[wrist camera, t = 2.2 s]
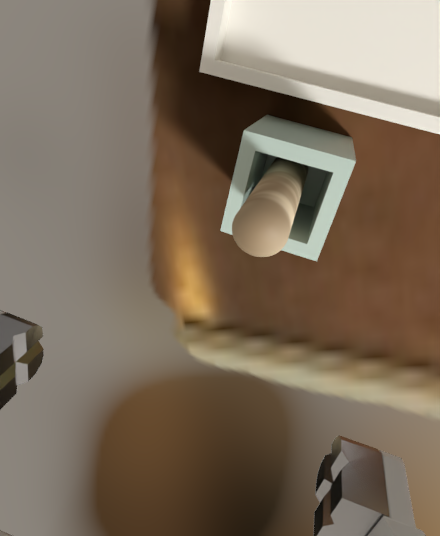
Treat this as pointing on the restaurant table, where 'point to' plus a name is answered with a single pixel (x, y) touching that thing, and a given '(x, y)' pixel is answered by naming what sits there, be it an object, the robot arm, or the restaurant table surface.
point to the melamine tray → (334, 53)
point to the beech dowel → (270, 209)
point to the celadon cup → (316, 185)
